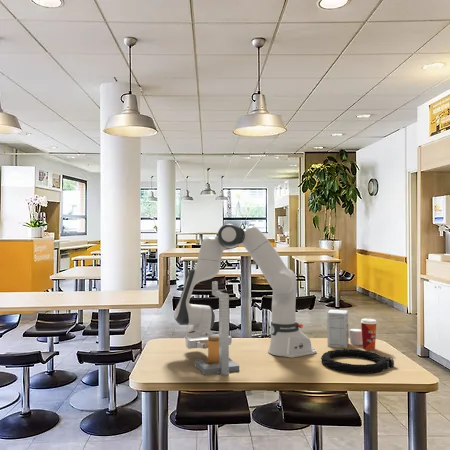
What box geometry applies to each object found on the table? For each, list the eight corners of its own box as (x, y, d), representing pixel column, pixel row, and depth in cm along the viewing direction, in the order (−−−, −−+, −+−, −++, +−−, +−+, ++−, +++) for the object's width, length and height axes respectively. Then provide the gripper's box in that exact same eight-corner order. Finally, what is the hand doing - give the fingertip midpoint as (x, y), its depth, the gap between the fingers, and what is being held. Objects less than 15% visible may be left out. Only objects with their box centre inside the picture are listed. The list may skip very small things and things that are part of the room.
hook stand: (217, 365, 193) (217, 281, 193) (228, 374, 180) (228, 285, 180) (210, 365, 192) (210, 281, 192) (221, 375, 179) (221, 285, 179)
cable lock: (321, 346, 211) (389, 350, 205) (321, 354, 211) (389, 358, 205) (320, 363, 184) (398, 368, 178) (320, 372, 184) (398, 378, 178)
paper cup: (371, 351, 214) (371, 322, 214) (357, 348, 220) (357, 319, 220) (380, 348, 219) (380, 319, 219) (366, 345, 225) (366, 317, 225)
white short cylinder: (346, 342, 231) (346, 329, 231) (357, 341, 233) (357, 327, 233) (355, 346, 224) (355, 331, 224) (366, 344, 227) (366, 330, 227)
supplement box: (348, 343, 229) (349, 310, 229) (346, 348, 220) (346, 313, 220) (329, 341, 232) (329, 308, 232) (326, 346, 224) (326, 312, 224)
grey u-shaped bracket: (227, 361, 199) (227, 356, 199) (239, 370, 185) (239, 365, 185) (194, 364, 193) (194, 359, 193) (204, 374, 180) (204, 369, 180)
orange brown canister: (217, 363, 195) (217, 335, 196) (221, 366, 191) (221, 338, 191) (206, 364, 194) (206, 336, 194) (210, 367, 189) (210, 339, 189)
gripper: (225, 343, 208) (236, 350, 195) (182, 346, 201) (191, 355, 188) (225, 329, 209) (236, 336, 196) (182, 332, 201) (191, 340, 188)
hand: (214, 345), depth 192 cm, fingers open, 8 cm apart
